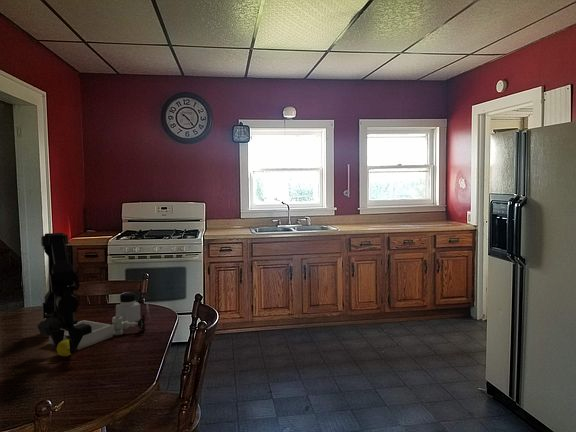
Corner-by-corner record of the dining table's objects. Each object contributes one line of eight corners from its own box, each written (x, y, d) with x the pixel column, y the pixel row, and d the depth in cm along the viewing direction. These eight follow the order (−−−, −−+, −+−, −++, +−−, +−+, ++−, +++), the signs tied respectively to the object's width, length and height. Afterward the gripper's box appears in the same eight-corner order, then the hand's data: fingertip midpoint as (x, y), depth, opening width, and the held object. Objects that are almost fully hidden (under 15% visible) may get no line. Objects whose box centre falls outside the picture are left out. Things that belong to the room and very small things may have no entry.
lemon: (55, 356, 146) (54, 340, 147) (73, 352, 149) (72, 336, 150) (58, 360, 141) (57, 343, 141) (77, 356, 144) (76, 339, 144)
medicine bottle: (140, 320, 185) (140, 292, 184) (126, 324, 179) (125, 295, 178) (130, 317, 189) (129, 290, 188) (115, 321, 183) (114, 293, 182)
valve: (111, 337, 164) (145, 333, 168) (111, 320, 163) (144, 317, 167) (112, 332, 170) (144, 328, 174) (112, 315, 170) (144, 312, 174)
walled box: (49, 343, 157) (48, 331, 157) (84, 331, 170) (83, 320, 170) (78, 350, 151) (78, 337, 150) (112, 336, 164) (112, 325, 164)
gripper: (22, 309, 141) (24, 356, 142) (62, 316, 133) (64, 366, 134) (53, 301, 151) (54, 345, 152) (92, 307, 143) (93, 354, 144)
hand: (65, 352), depth 145 cm, fingers closed on lemon, 6 cm apart
